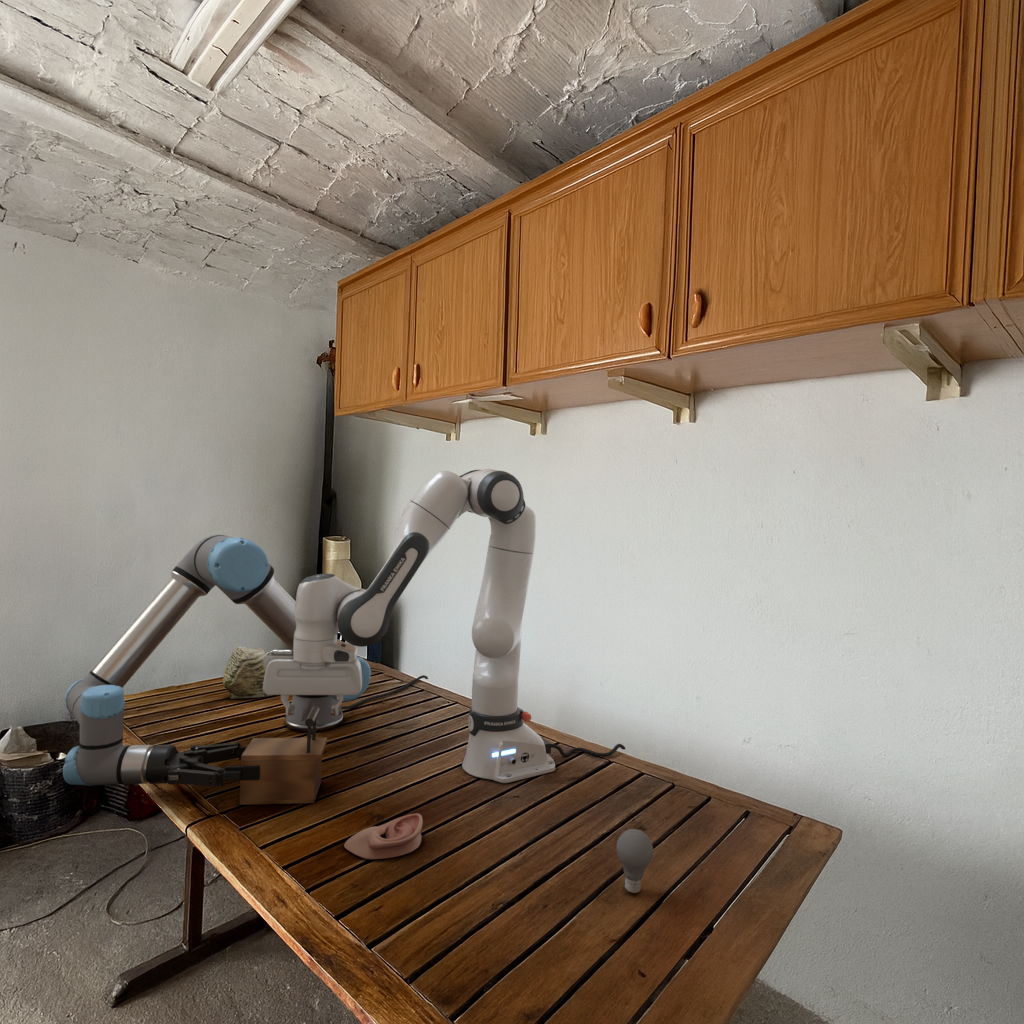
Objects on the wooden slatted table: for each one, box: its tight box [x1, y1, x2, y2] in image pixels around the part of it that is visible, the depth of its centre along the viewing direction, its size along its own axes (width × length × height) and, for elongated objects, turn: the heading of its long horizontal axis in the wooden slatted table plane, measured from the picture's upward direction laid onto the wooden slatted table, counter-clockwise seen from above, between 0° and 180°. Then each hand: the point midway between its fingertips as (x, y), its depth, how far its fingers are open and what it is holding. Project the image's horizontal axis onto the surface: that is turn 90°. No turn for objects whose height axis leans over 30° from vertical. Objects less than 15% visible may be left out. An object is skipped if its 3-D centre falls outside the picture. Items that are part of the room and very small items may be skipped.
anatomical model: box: [343, 813, 424, 860], centre depth 117 cm, size 13×4×12 cm
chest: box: [239, 756, 323, 806], centre depth 134 cm, size 15×9×9 cm, turn 98°
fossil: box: [222, 646, 273, 699], centre depth 198 cm, size 9×18×15 cm, turn 132°
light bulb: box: [615, 828, 654, 894], centre depth 106 cm, size 6×6×10 cm
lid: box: [240, 706, 328, 762], centre depth 134 cm, size 16×9×8 cm, turn 98°
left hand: (265, 762), depth 134 cm, fingers closed on chest, 9 cm apart
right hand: (312, 714), depth 135 cm, fingers open, 8 cm apart
